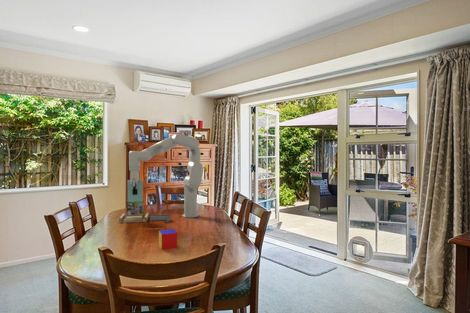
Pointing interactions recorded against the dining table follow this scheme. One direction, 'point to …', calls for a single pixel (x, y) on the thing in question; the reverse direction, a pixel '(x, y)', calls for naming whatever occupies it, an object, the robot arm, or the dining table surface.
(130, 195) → the teal rectangular slab
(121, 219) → the rack
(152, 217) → the stand
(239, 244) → the dining table surface
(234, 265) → the dining table surface
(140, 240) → the dining table surface
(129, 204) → the chalk box
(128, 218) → the beige rectangular block
